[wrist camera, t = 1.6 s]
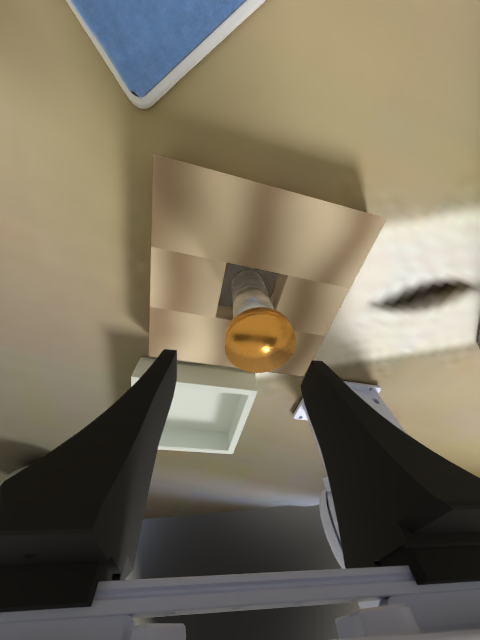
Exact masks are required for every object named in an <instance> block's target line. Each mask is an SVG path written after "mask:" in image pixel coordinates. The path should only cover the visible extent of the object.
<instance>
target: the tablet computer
mask: <svg viewBox="0 0 480 640" xmlns="http://www.w3.org/2000/svg"><path fill="white" fill-rule="evenodd" d="M265 1H266V0H66V2H67V3H68V5H69V6H70V8H71V9H72V11H73V12H74V14H75V16H76V17H77V19H78V20H79V22H80V24H81V25H82V27H83V28H84V30H85V31H86V33H87V34H88V36H89V37H90V39H91V41H92V42H93V44H94V45H95V47H96V48H97V50H98V51H99V53H100V54H101V56H102V58H103V59H104V61H105V62H106V64H107V66H108V67H109V69H110V70H111V72H112V73H113V75H114V76H115V78H116V80H117V81H118V83H119V84H120V86H121V88H122V89H123V91H124V92H125V94H126V95H127V97H128V98H129V100H130V101H131V102H132V103H133V104H134V105H135V106H136V107H138V108H140V109H147V108H149V107H151V106H153V105H154V104H155V103H156V102H157V101H158V100H159V99H160V98H161V97H162V96H163V95H164V94H165V93H166V92H167V91H169V90H170V89H171V88H172V87H173V86H174V85H175V84H176V83H177V82H178V81H179V80H180V79H181V78H182V77H184V76H185V75H186V74H187V73H188V72H189V71H190V70H191V69H192V68H193V67H194V66H195V65H197V64H198V63H199V62H200V61H201V60H202V59H203V58H204V57H205V56H206V55H207V54H208V53H210V52H211V51H212V50H213V49H214V48H215V47H216V46H217V45H218V44H219V43H220V42H221V41H223V40H224V39H225V38H226V37H227V36H228V35H229V34H230V33H231V32H232V31H233V30H234V29H235V28H237V27H238V26H239V25H240V24H241V23H242V22H243V21H244V20H245V19H246V18H247V17H249V16H250V15H251V14H252V13H253V12H254V11H255V10H256V9H257V8H258V7H259V6H260V5H262V4H263V3H264V2H265Z"/></svg>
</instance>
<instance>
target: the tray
mask: <svg viewBox="0 0 480 640" xmlns="http://www.w3.org/2000/svg"><path fill="white" fill-rule="evenodd" d="M156 359H157V358H150V357H143V356H141V357H140V359H139V361H138V363H137V365H136V368H135V370H134V372H133V374H132V376H131V387H132V386H133V385H134V384H135V383H136V382H137V381H138V380H139V378H140V377H141V376H142V375H143V374H144V373H145V372H146V371H147V369H148V368H149V367H150V366H151V365H152V364H153V362H154V361H155V360H156ZM257 392H258V390H257V383H256V377H255V373H252V372H247V371H243V370H241V369H235V368H227V367H220V366H212V365H204V364H196V363H189V362H181V361H177V381H176V386H175V391H174V396H173V400H172V403H171V407H170V410H169V413H168V416H167V419H166V423H165V426H164V429H163V432H162V435H161V439H160V442H159V446H158V449H161V450H177V451H193V452H208V453H224V454H233V452H234V449H235V447H236V444H237V442H238V439H239V437H240V434H241V432H242V429H243V427H244V424H245V422H246V419H247V417H248V414H249V412H250V409H251V407H252V404H253V402H254V399H255V397H256V394H257Z"/></svg>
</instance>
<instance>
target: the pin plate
mask: <svg viewBox="0 0 480 640" xmlns="http://www.w3.org/2000/svg"><path fill="white" fill-rule="evenodd" d="M386 220H387V218H384V217H381V216H377V215H373V214H370V213H366V212H363V211H359V210H355V209H352V208H348V207H345V206H341V205H337V204H334V203H330V202H327V201H323V200H319V199H316V198H312V197H309V196H305V195H301V194H298V193H294V192H291V191H287V190H283V189H280V188H276V187H273V186H269V185H265V184H262V183H258V182H255V181H251V180H247V179H244V178H240V177H237V176H233V175H229V174H226V173H222V172H219V171H215V170H211V169H208V168H204V167H201V166H197V165H193V164H190V163H186V162H183V161H179V160H175V159H172V158H168V157H165V156H161V155H157V154H154V153H153V184H152V231H151V277H150V324H149V356H150V357H158V356H159V355H160V353H161V352H162V351H163V350H164V349H170V350H177V360H180V361H188V362H196V363H203V364H211V365H219V366H226V367H234V368H237V367H236V366H234V365H233V364H232V363H231V362H230V361H229V359H228V358H227V356H226V353H225V331H226V328H227V326H228V324H229V323H230V321H231V320H232V319H233V307H229V306H223V305H218V303H219V298H220V293H221V288H222V283H223V278H224V273H225V268H226V263H231V264H236V265H241V266H246V267H250V268H255V269H260V270H265V271H269V272H274V273H279V275H278V278H277V281H276V284H275V287H274V290H273V293H272V296H271V299H270V300H271V302H272V305H273V308H274V310H277V311H279V312H281V313H282V314H283V315H284V316H285V317H286V318H287V319H288V320H289V322H290V324H291V326H292V328H293V331H294V333H295V336H296V348H295V351H294V353H293V355H292V356H291V358H290V359H289V360H288V361H287V362H286V363H285V364H283V365H282V366H280V367H279V368H277V369H274V370H271V371H268V372H272V373H280V374H288V375H296V376H304V374H305V373H306V371H307V369H308V367H309V365H310V363H311V361H312V359H313V357H314V356H315V354H316V352H317V350H318V348H319V346H320V344H321V342H322V340H323V339H324V337H325V335H326V333H327V331H328V329H329V327H330V325H331V323H332V322H333V320H334V318H335V316H336V314H337V312H338V310H339V308H340V306H341V305H342V303H343V301H344V299H345V297H346V295H347V293H348V291H349V289H350V288H351V286H352V284H353V282H354V280H355V278H356V276H357V274H358V272H359V271H360V269H361V267H362V265H363V263H364V261H365V259H366V257H367V255H368V254H369V252H370V250H371V248H372V246H373V244H374V242H375V240H376V238H377V237H378V235H379V233H380V231H381V229H382V227H383V225H384V223H385V221H386Z"/></svg>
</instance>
